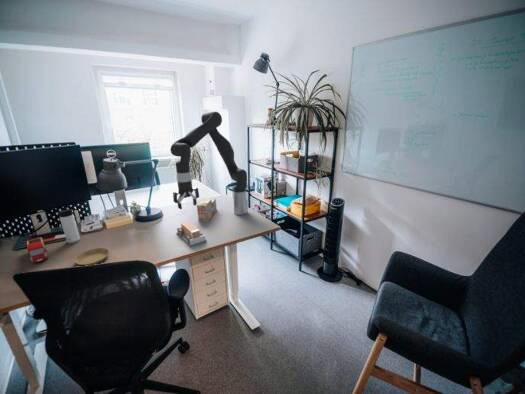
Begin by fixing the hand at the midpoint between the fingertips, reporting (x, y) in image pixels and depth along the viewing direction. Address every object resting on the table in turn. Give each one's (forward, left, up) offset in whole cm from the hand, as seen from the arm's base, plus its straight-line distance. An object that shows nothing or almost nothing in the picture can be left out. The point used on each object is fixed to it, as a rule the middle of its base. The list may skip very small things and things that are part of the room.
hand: (187, 207), depth 141 cm
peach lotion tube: (0, 0, -19) cm, 19 cm away
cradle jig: (0, 0, -20) cm, 20 cm away
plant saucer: (+49, -10, -20) cm, 54 cm away
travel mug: (+55, -40, -20) cm, 71 cm away
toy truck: (+70, -33, -20) cm, 80 cm away
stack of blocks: (-23, -23, -20) cm, 39 cm away
